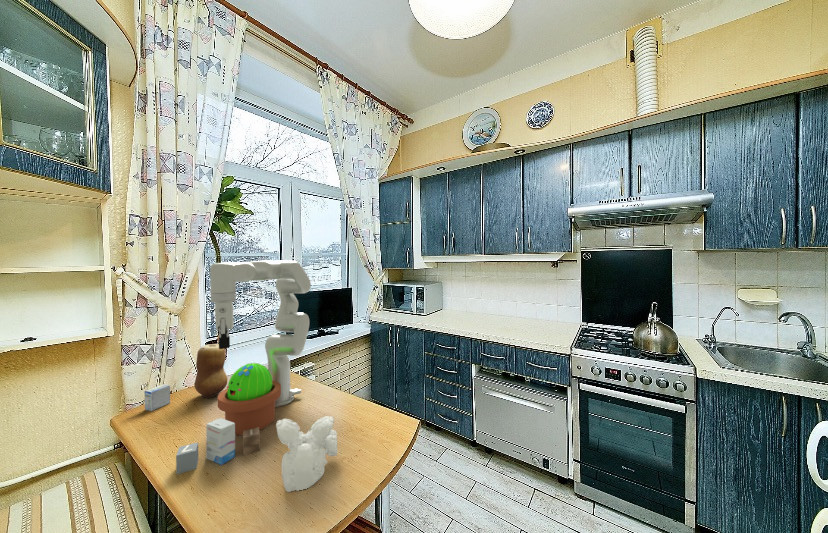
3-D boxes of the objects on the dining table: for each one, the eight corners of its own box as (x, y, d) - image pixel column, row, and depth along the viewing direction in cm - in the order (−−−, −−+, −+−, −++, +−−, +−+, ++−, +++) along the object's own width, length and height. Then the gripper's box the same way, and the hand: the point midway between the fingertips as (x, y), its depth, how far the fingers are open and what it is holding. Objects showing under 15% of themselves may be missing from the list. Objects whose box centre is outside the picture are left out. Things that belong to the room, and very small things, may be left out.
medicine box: (163, 402, 139) (163, 383, 138) (170, 403, 137) (170, 384, 137) (144, 410, 131) (143, 391, 131) (151, 411, 130) (151, 392, 130)
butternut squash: (232, 393, 147) (231, 344, 146) (201, 404, 136) (200, 351, 135) (219, 387, 154) (218, 340, 154) (188, 397, 143) (187, 346, 142)
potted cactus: (255, 405, 135) (254, 351, 134) (292, 415, 126) (291, 357, 126) (205, 431, 114) (204, 368, 114) (245, 445, 106) (244, 376, 105)
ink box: (236, 456, 100) (236, 422, 100) (221, 465, 95) (220, 429, 95) (220, 449, 103) (220, 416, 103) (205, 458, 99) (204, 423, 99)
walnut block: (259, 443, 107) (259, 426, 107) (259, 450, 103) (259, 433, 103) (243, 447, 105) (243, 430, 105) (243, 455, 100) (242, 437, 100)
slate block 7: (198, 459, 98) (198, 441, 98) (196, 468, 94) (195, 450, 94) (179, 465, 96) (179, 446, 96) (176, 474, 91) (176, 455, 91)
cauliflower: (268, 479, 77) (277, 408, 93) (271, 511, 87) (279, 442, 103) (342, 466, 83) (339, 402, 99) (336, 497, 93) (334, 434, 109)
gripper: (234, 298, 101) (235, 351, 101) (236, 294, 114) (237, 341, 114) (208, 300, 97) (209, 355, 98) (213, 295, 110) (214, 344, 111)
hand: (224, 347), depth 106 cm, fingers closed
